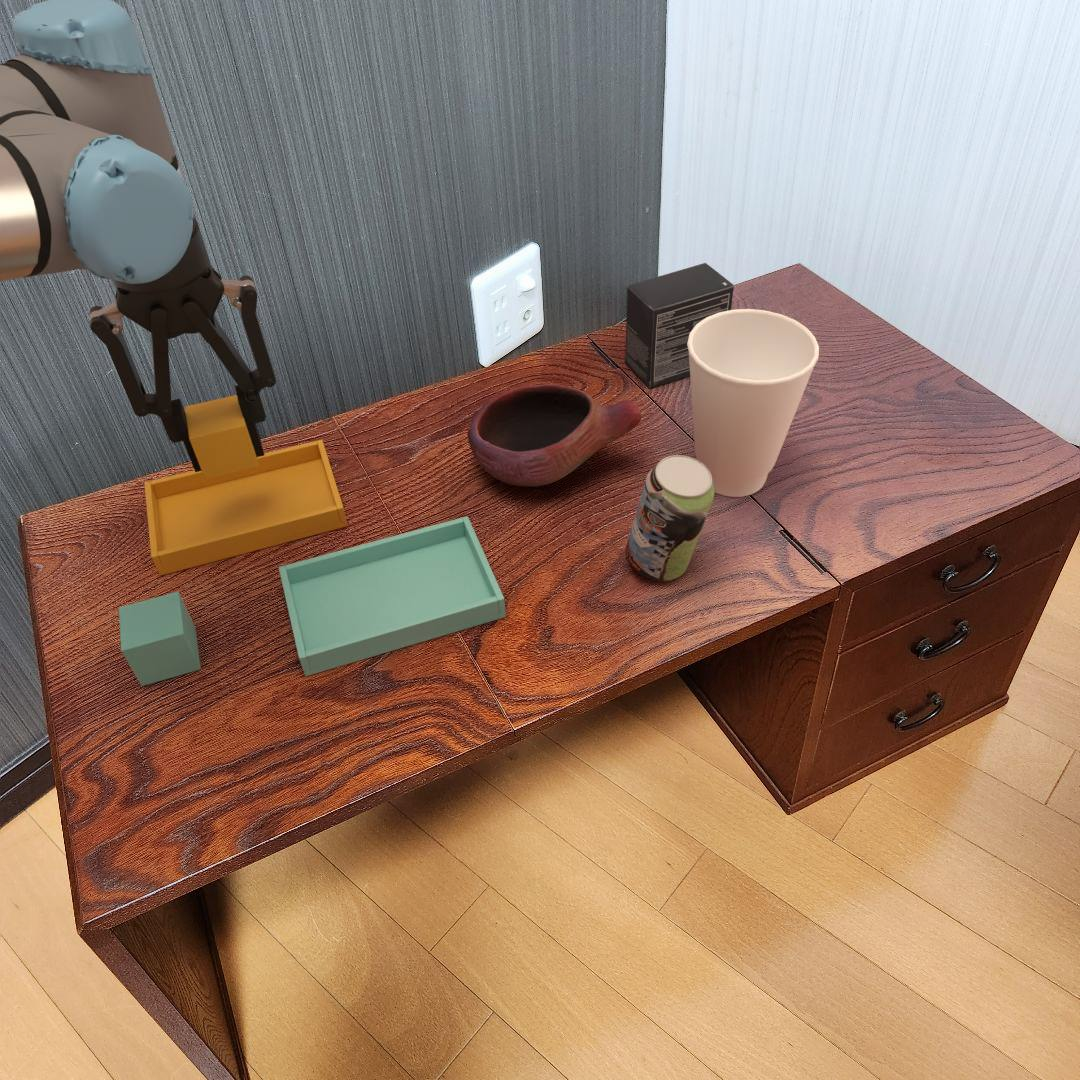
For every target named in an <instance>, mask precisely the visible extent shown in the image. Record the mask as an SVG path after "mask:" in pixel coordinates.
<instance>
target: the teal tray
mask: <svg viewBox="0 0 1080 1080" xmlns="http://www.w3.org/2000/svg"><path fill="white" fill-rule="evenodd" d="M278 571H279V576H280V581H281V584H282V589H283V593H284V598H285V603H286V607H287V612H288V617H289V621H290V625H291V630H292V633H293V639H294V642H295V647H296V648H295V649H296V652H297V657H298V660H299V663H300V666H301V668H302V672H303V674H304V676H305V677H309V676H312V675H315V674H318V673H322V672H326V671H329V670H333V669H336V668H339V667H342V666H347V665H349V664H353V663H355V662H359V661H362V660H367V659H369V658H373V657H376V656H379V655H383V654H386V653H389V652H393V651H396V650H399V649H402V648H403V649H404V648H406V647H409V646H414V645H417V644H420V643H423V642H426V641H430V640H433V639H436V638H440V637H443V636H447V635H450V634H454V633H457V632H460V631H464V630H467V629H470V628H473V627H477V626H480V625H484V624H486V623H490V622H494V621H497V620H501V619H504V618H506V617H507V615H506V603H505V602H506V601H505V597H504V594H503V592H502V589H501V588H500V585H499V583H498V581H497V579H496V576H495V574H494V572H493V569H492V567H491V565H490V563H489V561H488V558H487V556H486V554H485V552H484V550H483V547H482V545H481V543H480V540H479V538H478V536H477V534H476V531H475V529H474V527H473V525H472V522H471V520H470V518H469V516H463V517H459V518H455V519H452V520H448V521H444V522H441V523H438V524H433V525H430V526H426V527H422V528H418V529H414V530H411V531H407V532H404V533H399V534H396V535H392V536H389V537H385V538H381V539H378V540H374V541H370V542H367V543H362V544H360V545H356V546H352V547H348V548H344V549H340V550H337V551H334V552H330V553H326V554H321V555H319V556H315V557H311V558H306V559H304V560H300V561H295V562H292V563H288V564H286V565H285V564H284V565H282V566H278Z"/></svg>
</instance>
